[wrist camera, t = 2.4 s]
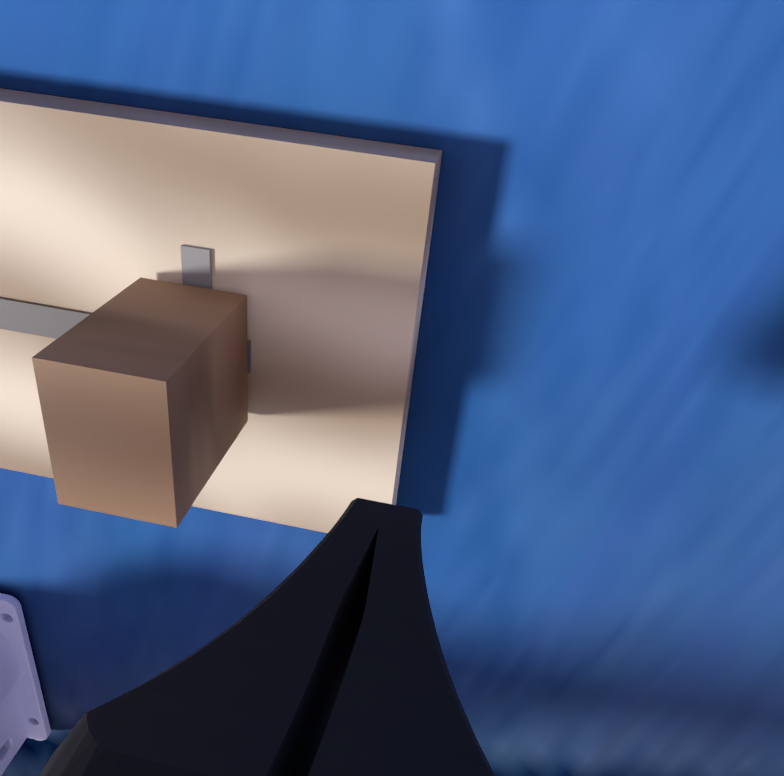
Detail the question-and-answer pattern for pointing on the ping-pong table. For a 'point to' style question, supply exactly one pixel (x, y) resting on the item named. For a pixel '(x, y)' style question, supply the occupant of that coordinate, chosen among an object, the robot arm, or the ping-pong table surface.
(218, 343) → the fader knob
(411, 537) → the robot arm
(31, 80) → the ping-pong table surface
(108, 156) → the fader panel
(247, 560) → the ping-pong table surface
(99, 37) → the ping-pong table surface
